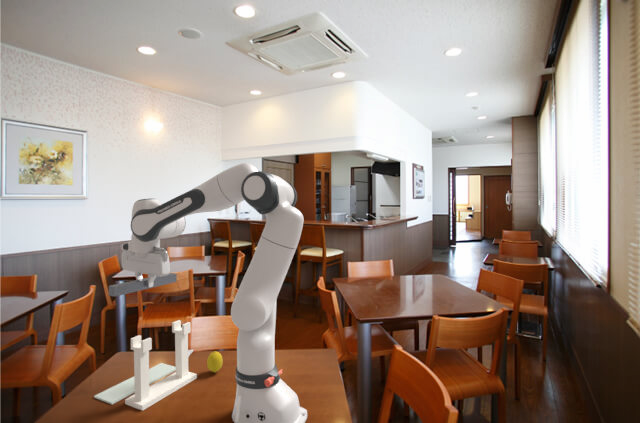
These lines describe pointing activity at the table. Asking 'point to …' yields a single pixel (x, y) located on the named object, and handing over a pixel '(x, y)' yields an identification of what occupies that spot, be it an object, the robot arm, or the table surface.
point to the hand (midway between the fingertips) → (145, 285)
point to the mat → (133, 384)
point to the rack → (168, 385)
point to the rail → (140, 284)
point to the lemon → (214, 361)
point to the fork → (189, 352)
